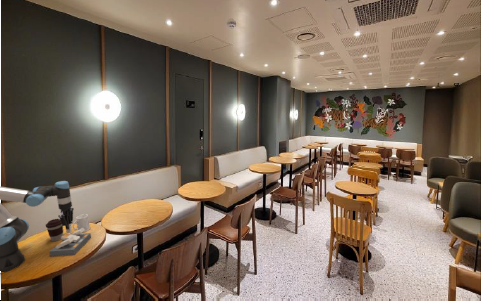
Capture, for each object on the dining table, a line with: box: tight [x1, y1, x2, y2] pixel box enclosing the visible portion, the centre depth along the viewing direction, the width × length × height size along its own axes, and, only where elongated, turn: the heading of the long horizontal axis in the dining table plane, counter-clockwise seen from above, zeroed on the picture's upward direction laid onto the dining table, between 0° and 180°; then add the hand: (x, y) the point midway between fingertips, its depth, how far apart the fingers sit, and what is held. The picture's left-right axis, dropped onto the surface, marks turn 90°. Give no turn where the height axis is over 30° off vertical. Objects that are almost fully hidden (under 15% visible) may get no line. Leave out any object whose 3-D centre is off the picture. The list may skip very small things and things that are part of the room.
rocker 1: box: [55, 237, 74, 249], centre depth 149 cm, size 10×4×2 cm, turn 96°
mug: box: [72, 213, 91, 233], centre depth 176 cm, size 12×8×12 cm
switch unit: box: [49, 232, 92, 257], centre depth 155 cm, size 15×20×5 cm
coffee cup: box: [45, 218, 64, 242], centre depth 164 cm, size 10×10×15 cm
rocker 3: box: [69, 228, 85, 235], centre depth 161 cm, size 10×4×2 cm, turn 94°
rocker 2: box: [60, 232, 80, 242], centre depth 155 cm, size 10×4×2 cm, turn 98°
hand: (69, 232), depth 160 cm, fingers closed
